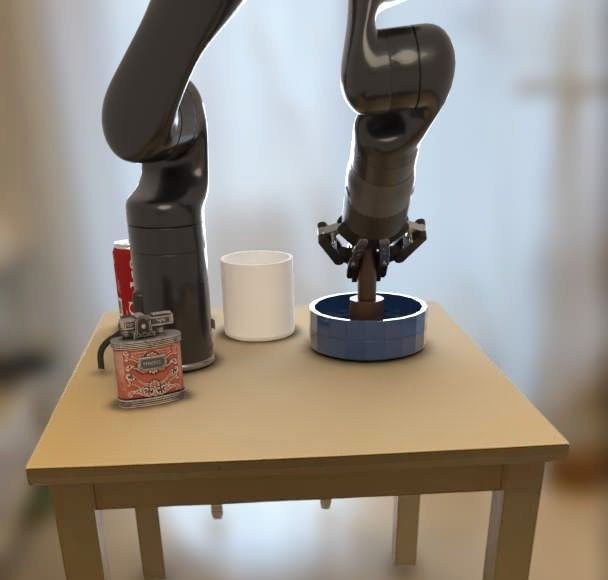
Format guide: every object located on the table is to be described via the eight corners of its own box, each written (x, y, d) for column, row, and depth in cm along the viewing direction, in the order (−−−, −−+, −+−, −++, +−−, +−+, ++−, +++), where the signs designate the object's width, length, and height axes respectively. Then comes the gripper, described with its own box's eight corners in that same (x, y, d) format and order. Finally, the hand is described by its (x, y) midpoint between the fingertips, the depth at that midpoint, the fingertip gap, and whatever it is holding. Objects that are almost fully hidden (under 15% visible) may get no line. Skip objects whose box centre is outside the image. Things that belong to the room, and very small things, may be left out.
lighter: (123, 410, 100) (112, 322, 95) (114, 401, 102) (103, 314, 97) (190, 398, 103) (183, 311, 98) (180, 389, 105) (172, 305, 101)
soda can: (160, 321, 132) (152, 237, 127) (152, 331, 128) (143, 244, 122) (126, 321, 133) (117, 237, 127) (117, 330, 128) (106, 244, 123)
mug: (308, 333, 125) (307, 258, 120) (246, 346, 121) (242, 268, 116) (263, 315, 134) (260, 244, 130) (204, 325, 130) (198, 253, 125)
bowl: (313, 366, 112) (313, 323, 110) (306, 332, 126) (306, 293, 123) (434, 362, 113) (436, 319, 110) (415, 329, 126) (416, 290, 124)
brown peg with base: (366, 335, 113) (368, 220, 107) (342, 329, 116) (342, 216, 109) (390, 329, 116) (393, 216, 109) (366, 322, 119) (367, 212, 112)
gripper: (438, 157, 100) (415, 249, 116) (314, 160, 99) (309, 252, 116) (444, 214, 97) (421, 299, 114) (318, 218, 97) (312, 303, 114)
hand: (365, 275), depth 115 cm, fingers closed on brown peg with base, 2 cm apart
